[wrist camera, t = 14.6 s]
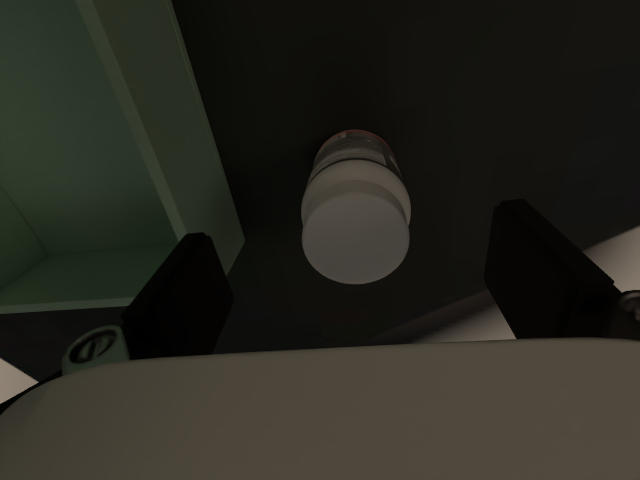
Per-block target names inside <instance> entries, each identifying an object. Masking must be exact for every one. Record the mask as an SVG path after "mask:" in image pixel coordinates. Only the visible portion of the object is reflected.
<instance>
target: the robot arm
mask: <svg viewBox="0 0 640 480" xmlns="http://www.w3.org/2000/svg"><path fill="white" fill-rule="evenodd" d="M484 279H485V283H486V286H487V288H488V289H489V291H490V293H491V295H492V296H493V298H494V300H495V302H496V304H497V305H498V307H499V309H500V310H501V312H502V314H503V316H504V318H505V319H506V321H507V323H508V325H509V326H510V328H511V330H512V332H513V333H514V335H515V337H516V339H511V340H510V339H509V340H490V341H489V340H488V341H469V342H468V341H466V342H445V343H424V344H404V345H383V346H365V347H344V348H325V349H306V350H287V351H268V352H250V353H232V354H214V355H212V353H213V351H214V348H215V346H216V343H217V341H218V338H219V336H220V334H221V331H222V329H223V326H224V324H225V321H226V319H227V317H228V314H229V312H230V309H231V307H232V304H233V293H232V291H231V288H230V285H229V283H228V280H227V277H226V275H225V272H224V270H223V267H222V264H221V262H220V259H219V256H218V254H217V251H216V248H215V246H214V243H213V241H212V238H211V237H210V236H209V235H208V236H207V235H206V234H205V233H204V232H197V233H188V234H185V235H184V237H183V238H182V239H181V240H180V242H179V243H178V244H177V245H176V247H175V248H174V249H173V250H172V252H171V253H170V254H169V256H168V257H167V258H166V259H165V261H164V262H163V263H162V264H161V266H160V267H159V268H158V269H157V271H156V272H155V273H154V274H153V276H152V277H151V278H150V279H149V281H148V282H147V283H146V285H145V286H144V287H143V288H142V290H141V291H140V292H139V293H138V295H137V296H136V297H135V298H134V300H133V301H132V302H131V303H130V305H129V306H128V307H127V309H126V310H125V311H124V312H123V314H122V315H121V316H120V317H121V318H122V320H123V321H124V323H123V325H122V326H121V327H118V326H116V325H107V326H102V327H99V328H96V329H94V330H91V331H90V332H88V333H86V334H84V335H83V336H81V337H80V338H79V339H77V340H76V341H75V342H74V343H73V344H72V345H71V346H70V347H69V348H68V349H67V351H66V352H65V354H64V356H63V360H62V370H60V371H58V372H57V373H55V374H53V375H51V376H49V377H48V378H46V379H44V380H42V381H41V382H39V383H37V384H35V385H34V386H32V387H30V388H28V389H26V390H25V391H23V392H21V393H19V394H17V395H16V396H14V397H12V398H10V399H9V400H7V401H5V402H3V403H1V404H0V480H640V290H632V291H625V292H623V293H622V292H621V291H620V290H618V289H617V288H616V287H615V286H614V285H613V284H614V281H613V280H612V279H611V278H610V277H609V276H608V275H607V274H606V273H605V272H604V271H602V270H601V269H600V268H599V267H598V266H597V265H596V264H595V263H593V261H592V260H590V259H589V258H588V257H587V256H586V255H585V254H584V253H583V252H582V251H581V250H579V249H578V248H577V247H576V246H575V245H574V244H573V243H572V242H571V241H570V240H568V239H567V238H566V237H565V236H564V235H563V234H562V233H561V232H560V231H559V230H557V229H556V228H555V227H554V226H553V225H552V224H551V223H550V222H549V221H548V220H546V219H545V218H544V217H543V216H542V215H541V214H540V213H539V212H538V211H537V210H535V209H534V208H533V207H532V206H531V205H530V204H529V203H528V202H527V201H526V200H524V199H516V200H506V201H502V202H501V203H500V205H499V206H495V208H494V210H493V217H492V224H491V231H490V238H489V245H488V252H487V259H486V266H485V273H484Z"/></svg>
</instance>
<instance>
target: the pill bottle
mask: <svg viewBox="0 0 640 480" xmlns="http://www.w3.org/2000/svg"><path fill="white" fill-rule="evenodd" d="M410 215H411V205H410V200H409V196H408V193H407V190H406V187H405V185H404V182H403V179H402V177H401V174H400V171H399V169H398V167H397V164H396V161H395V158H394V155H393V153H392V151H391V150H390V148H389V146H388V145H387V144H386V143H385V142H384V141H383V140H382V139H381V138H380V137H378V136H377V135H375V134H372V133H370V132H367V131H363V130H347V131H343V132H340V133H338V134H336V135H334V136H333V137H331V138H330V139H328V140H327V141H326V142H325V143H324V144H323V145H322V147H321V148H320V150H319V151H318V153H317V155H316V158H315V161H314V165H313V168H312V172H311V175H310V178H309V181H308V184H307V187H306V190H305V193H304V196H303V201H302V207H301V217H302V222H303V232H302V245H303V249H304V252H305V255H306V257H307V259H308V260H309V262H310V263H311V265H312V266H313V267H314V268H315V269H316V270H317V271H318V272H320V273H321V274H322V275H324V276H326V277H327V278H329V279H332V280H334V281H338V282H341V283H347V284H364V283H369V282H372V281H376V280H378V279H381V278H383V277H385V276H387V275H388V274H389V273H391V272H392V271H394V270H395V269H396V268H397V267H398V266H399V264H400V263H401V262H402V260H403V259H404V257H405V255H406V253H407V250H408V246H409V229H408V225H409V221H410Z"/></svg>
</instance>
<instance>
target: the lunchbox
mask: <svg viewBox="0 0 640 480" xmlns="http://www.w3.org/2000/svg"><path fill="white" fill-rule="evenodd" d="M197 232H204V233H205V234H206V235H207V236H208V235H209V236H210V237H211V238H212V241H213V243H214V246H215V248H216V251H217V254H218V256H219V259H220V262H221V264H222V267H223V270H224V272H225V275H226V276H227V274H228V272H229V270H230V268H231V267H232V265H233V263H234V261H235V259H236V257H237V255H238V253H239V251H240V249H241V247H242V246H243V244H244V242H245V238H244V235H243V231H242V228H241V225H240V222H239V218H238V215H237V212H236V209H235V206H234V202H233V199H232V196H231V193H230V189H229V186H228V183H227V180H226V176H225V173H224V170H223V167H222V164H221V160H220V157H219V154H218V151H217V147H216V144H215V141H214V138H213V134H212V131H211V128H210V125H209V122H208V118H207V115H206V112H205V109H204V105H203V102H202V99H201V96H200V92H199V89H198V86H197V83H196V80H195V76H194V73H193V70H192V67H191V63H190V60H189V57H188V54H187V50H186V47H185V44H184V41H183V38H182V34H181V31H180V28H179V25H178V21H177V18H176V15H175V12H174V9H173V5H172V2H171V0H0V314H5V313H20V312H36V311H52V310H67V309H83V308H99V307H114V306H129V305H130V303H131V302H132V301H133V300H134V298H135V297H136V296H137V295H138V293H139V292H140V291H141V290H142V288H143V287H144V286H145V285H146V283H147V282H148V281H149V279H150V278H151V277H152V276H153V274H154V273H155V272H156V271H157V269H158V268H159V267H160V266H161V264H162V263H163V262H164V261H165V259H166V258H167V257H168V256H169V254H170V253H171V252H172V250H173V249H174V248H175V247H176V245H177V244H178V243H179V242H180V240H181V239H182V238H183V237H184V235H185V234H188V233H197Z"/></svg>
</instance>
